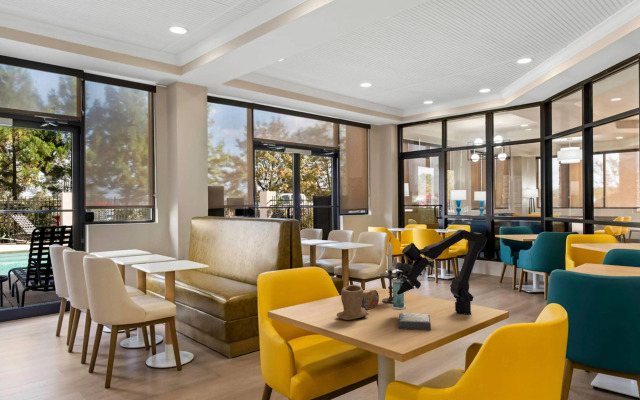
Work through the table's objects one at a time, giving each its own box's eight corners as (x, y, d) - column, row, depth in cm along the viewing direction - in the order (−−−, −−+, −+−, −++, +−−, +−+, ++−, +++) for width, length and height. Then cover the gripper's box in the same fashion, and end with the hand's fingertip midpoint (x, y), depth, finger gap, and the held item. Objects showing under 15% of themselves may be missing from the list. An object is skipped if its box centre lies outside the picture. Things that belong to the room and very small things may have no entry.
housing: (406, 306, 195) (405, 278, 195) (406, 310, 188) (405, 281, 189) (391, 306, 197) (390, 278, 197) (390, 309, 190) (390, 281, 190)
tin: (364, 311, 204) (364, 294, 204) (359, 310, 206) (358, 293, 206) (379, 305, 216) (379, 288, 216) (374, 304, 218) (374, 288, 218)
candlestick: (404, 303, 220) (403, 236, 220) (385, 304, 217) (383, 237, 218) (396, 298, 230) (395, 235, 231) (377, 300, 228) (376, 235, 228)
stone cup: (347, 323, 183) (347, 289, 183) (333, 317, 193) (332, 285, 193) (375, 318, 190) (374, 285, 191) (360, 313, 201) (359, 281, 201)
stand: (429, 321, 184) (429, 313, 184) (430, 330, 171) (430, 321, 172) (399, 320, 187) (399, 312, 187) (398, 328, 174) (398, 320, 174)
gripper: (398, 253, 203) (376, 277, 201) (413, 258, 184) (390, 284, 182) (413, 269, 204) (392, 293, 202) (430, 275, 186) (407, 301, 184)
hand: (395, 292), depth 192 cm, fingers closed on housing, 5 cm apart
